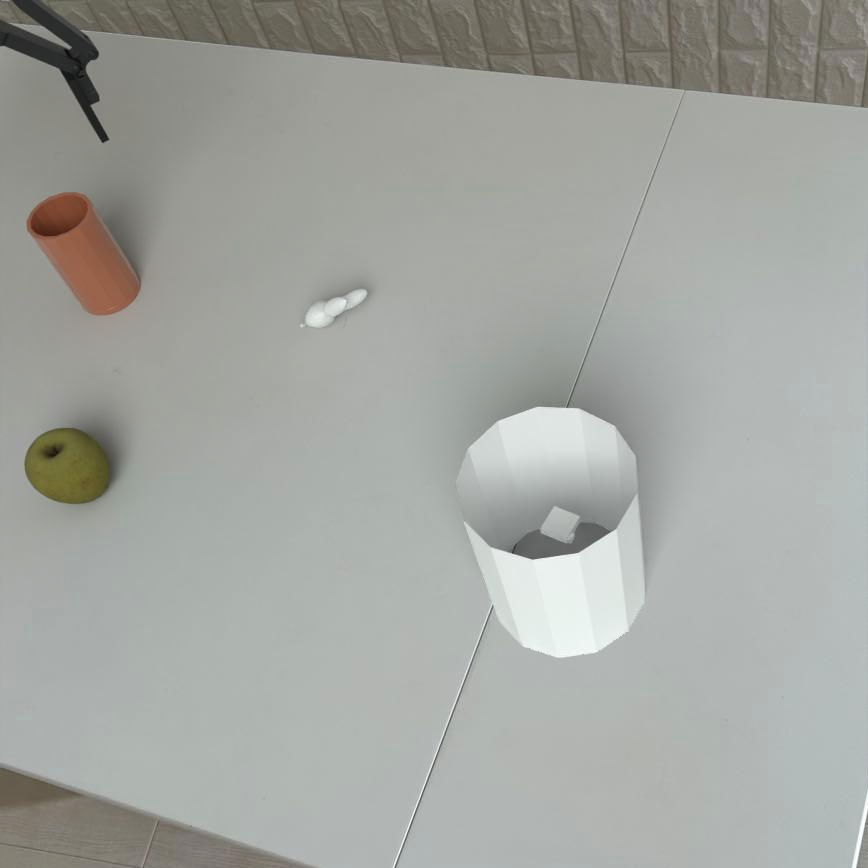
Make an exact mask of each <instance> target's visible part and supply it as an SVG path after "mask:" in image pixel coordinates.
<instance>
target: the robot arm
mask: <svg viewBox="0 0 868 868" xmlns="http://www.w3.org/2000/svg"><path fill="white" fill-rule="evenodd" d="M0 1H1V2H3V3H4V2H6V3H9V2H10V1H11V2H12V3H13V4H14V5H15V6H16V7H17V8H18V9H19V10H20V11H21V12H23V13H24V14H26V15H27V16H28V17H30V18H31V19H32V20H34V21H35V22H36V23H37V24H40V25H41V26H42V27H43V28H44V29H46V30H47V31H49V32H50V33H52V35H54V36H55V37H57V38H58V39H59V40H61V41H62V42H64V43H65V44H67V45H68V46H69V47H71V48H68V47H66V46H63V45H60V44H59V43H56V42H53V41H51V40H50V39H49V40H48V39H47V38H45V37H42V36H40V35H37V34H35V33H33V32H30V31H28V30H26V29H23V28H21V27H18V26H16V25H14V24H12V23H11V22H10V23H9V22H7V21H6V20H2V19H0V47H6V48H8V49H10V50H13V51H15V52H18V53H21V54H22V55H25V56H28V57H30V58H32V59H34V60H37V61H39V62H42V63H44V64H46V65H49V66H52V67H54V68H56V69H59V72H60V73H61V75H62V77H63V78H64V81H65V82H66V83H67V85H68V87H69V89H70V91H71V92H72V94H73V95H74V98H75V99H76V101H77V103H78V105H79V106H80V108H81V110H82V111H83V114H84V115H85V117H86V119H87V120H88V122H89V124H90V127H92V129H93V131H94V132H95V134H96V135H97V137H98V139H99V141H100V142H101V143H102V144H104V143H106V142H108V141H110V137H109V136H108V133H106V130H105V129H104V126H103V125H102V123H101V122H100V120H99V118H98V116H97V114H96V113H95V111H94V109H93V107H92V106H93V105H94V104H97V103H99V102H100V101H101V100H100V93H98V91H97V88H96V87H95V85H94V83H93V81H92V79H91V78H90V76H89V74H88V72H87V66H88V64H89V63H90V62H91V61H96V60H97V59H98V58H99V56H100V52H99V50H98V48H97V46H96V45H95V44H94V42H93V41H92V39H91V37H89V36H88V35H87V34H86V33H84V31H82V30H80V28H78V27H77V26H75V25H74V24H73V23H71V21H69V20H68V19H66V18H64V17H63V16H62V15H61V14H60V13H58V12H56V11H55V10H54V9H53V8H51V7H50V6H48V5H47V4H46V3H45V2H43V1H42V0H0Z"/></svg>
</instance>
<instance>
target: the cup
mask: <svg viewBox="0 0 868 868" xmlns="http://www.w3.org/2000/svg"><path fill="white" fill-rule="evenodd" d="M26 231H27V233H28V234H29V235H30V237H31V238H32V239H33V241H34V242H35V244H36V246H38V248H39V250H40V251H41V252H42V254H43V255H44V256H45V258H46V259H47V260H48V262H49V263H50V265H51V266H52V267H53V269H54V270H55V272H56V273H57V275H58V276H59V277H60V278H61V280H62V281H63V283H64V284H65V286H66V287H67V288H68V290H69V291H70V293H71V294H72V296H73V297H74V298H75V300H76V301H77V303H78V304H79V305H80V306H81V307H82V309H83V310H84V311H85V312H87V313H88V314H90V315H93V316H94V315H95V316H107V315H113V314H115V313H118V312H119V311H122V310H124V309H125V308H127V307H128V306H129V305H130V304H132V302H133V301H134V300H135V299H136V298H137V296H138V294H139V292H140V290H141V282H140V279H139V276H138V275H137V272H136V271H135V269H134V267H133V266H132V265H131V263H130V261H129V259H128V257H126V254H125V253H124V251H123V250H122V248H121V247H120V245H119V244H118V242H117V240H116V239H115V237H114V235H113V234H112V232H111V231H110V229H109V228H108V226H107V224H106V223H105V221H104V219H103V218H102V216H101V214H100V212H99V211H98V210H97V208H96V207H95V205H94V203H93V202H92V201H91V199H90V198H89V196H87V195H86V194H83V193H80V192H77V191H68V192H67V191H65V192H61V193H57V194H54V195H51V196H48V197H47V198H45V199H44V200H42V201H40V202H39V203H38V204H37V205H36V206H34V208H33V209H32V210H31V211H30V213H29V215H28V217H27V219H26Z"/></svg>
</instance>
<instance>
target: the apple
mask: <svg viewBox="0 0 868 868" xmlns="http://www.w3.org/2000/svg"><path fill="white" fill-rule="evenodd" d="M23 466H24V472H25V476H26V478H27V480H28V483H30V485H31V486H32V487H33V489H35V491H37V492H38V493H39V494H40V495H42V496H43V497H45V498H47V499H49V500H52V501H54V502H57V503H62V504H68V505H81V504H87V503H91V502H93V501H95V500H96V499H99V498H100V497H101V496H102V495H103V494H104V492H105V491H106V490H107V488H108V486H109V483H110V480H111V464H110V461H109V458H108V455H107V453H106V451H105V450H104V448H103V447H102V446H101V444H100V443H99V442H98V441H97V440H96V439H95V438H94V437H93V436H92V435H91V434H88V433H87V432H85V431H83V430H81V429H78V428H74V427H58V428H53V429H50V430H47V431H45V432H43V433H41V434H40V435H38V436H37V437H36V438H35V439H34V440H33V441H32V443H31V444H30V446H29V447H28V448H27V451H26V454H25V457H24V465H23Z"/></svg>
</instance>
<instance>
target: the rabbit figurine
mask: <svg viewBox="0 0 868 868" xmlns="http://www.w3.org/2000/svg"><path fill="white" fill-rule="evenodd" d="M367 296H368V290H366V288H365V289H364V288H357V289H355V290H352V291H350V292H348V293H347V294H345V295H343V296H336V297H331V298H330V299H329V300H318V301H315V302H313V304H311V306H310V307H308V309H307V310H306V312H305V316H304V321H302V322H301V323H299V327H300V328H305V327H306V326H307V327H310V328H314V329H322V328H326V327H329V326H330V325H332V324H333V322H334V321H335V320H336V316H338V315H339V316H340V314H342V313H343V312H345V311H349V310H351V309H353V308H355V307H356V306H358V305H359V304H361V303H363V301H364V300H365V299H366V298H367ZM346 321H347V317H345V318H344V322H343V324H342V327H343V328H342V329H344V327H345V324H346Z"/></svg>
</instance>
